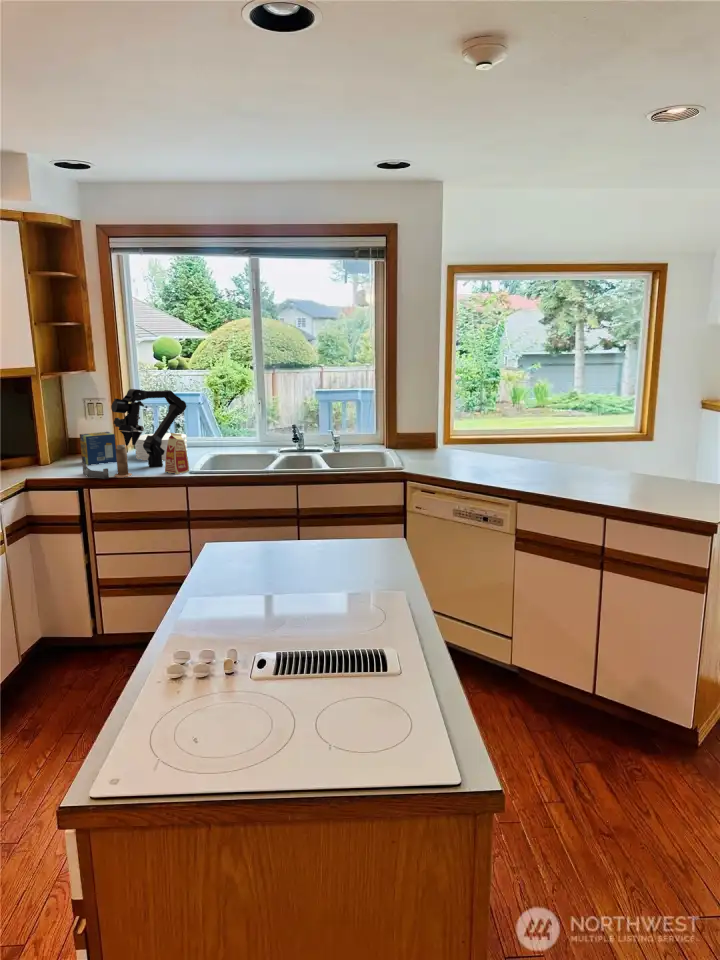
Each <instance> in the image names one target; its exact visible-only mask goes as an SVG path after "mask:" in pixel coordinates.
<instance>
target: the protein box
mask: <svg viewBox="0 0 720 960" xmlns="http://www.w3.org/2000/svg"><path fill="white" fill-rule="evenodd" d="M79 442H80V443H79V444H80V451H81V462H82V463H83V464H87V466H92V465H91V464H96V465H100V464H99V463H104V464H109V463H108V462H113V463H117V458H116V449H117V445H116V436H115V433H112V432H110V431H101V432H91V433H80V434H79Z"/></svg>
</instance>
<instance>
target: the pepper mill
mask: <svg viewBox="0 0 720 960" xmlns="http://www.w3.org/2000/svg"><path fill="white" fill-rule="evenodd" d="M116 458H117V462H116V467H117V474H118V475H128V473H129V464H128V452H127V448H126V445H125V444H117V445H116Z"/></svg>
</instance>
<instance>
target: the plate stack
mask: <svg viewBox="0 0 720 960" xmlns="http://www.w3.org/2000/svg"><path fill="white" fill-rule="evenodd" d="M171 433H172V432H166V434H165V435H164V437H163V438H162V443H161V446H160V447H161V448H162V449H163V450H164V455H162V460H163V461H165V460H166V451H167V445H168V439H169V437H170V436H171ZM174 433H175V434H180V433H177V432H174ZM153 434H154V433H149V434H148V433H147V434H141V435H140V437H139V438H138V440H137V442H136V444H135V445H134V448H135V459H136V458H137V459H136V460H139V459H142V460H141V461H145V460H148V457H149V454H147V452H146V451H145V450H144V448H143V444H144V442H143V441H145V440H146V438H147V436H148V435H149V436H152V435H153ZM181 434H182V435H181V437H182V438H183V439H184V442H185V446H186V451H187V454H188V455H189V453H188V444H187V441H188V440H187V438H188V437H187V434H184V433H181Z"/></svg>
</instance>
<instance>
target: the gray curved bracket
mask: <svg viewBox="0 0 720 960" xmlns="http://www.w3.org/2000/svg"><path fill="white" fill-rule="evenodd" d="M82 474H83V475H84V476H86V475H87V476H88V478H94V479H103V480H106V479H107V480H108V479H110V478H109V477H110V476H109V468H106V467H105V468H103V469H102V471H101V470H94V469H93V470H91V468H88V465H87V464H85V463H83V464H82ZM87 476H86V477H87Z"/></svg>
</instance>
